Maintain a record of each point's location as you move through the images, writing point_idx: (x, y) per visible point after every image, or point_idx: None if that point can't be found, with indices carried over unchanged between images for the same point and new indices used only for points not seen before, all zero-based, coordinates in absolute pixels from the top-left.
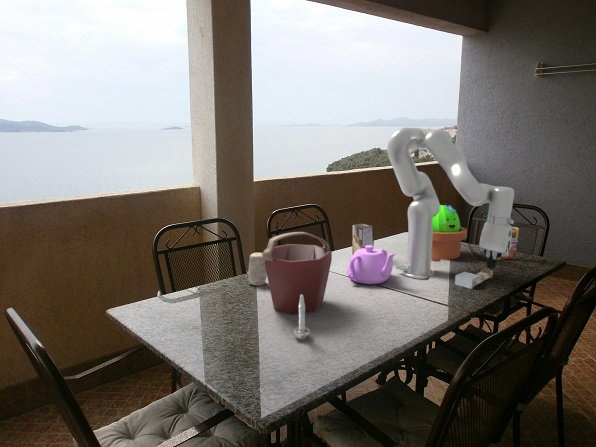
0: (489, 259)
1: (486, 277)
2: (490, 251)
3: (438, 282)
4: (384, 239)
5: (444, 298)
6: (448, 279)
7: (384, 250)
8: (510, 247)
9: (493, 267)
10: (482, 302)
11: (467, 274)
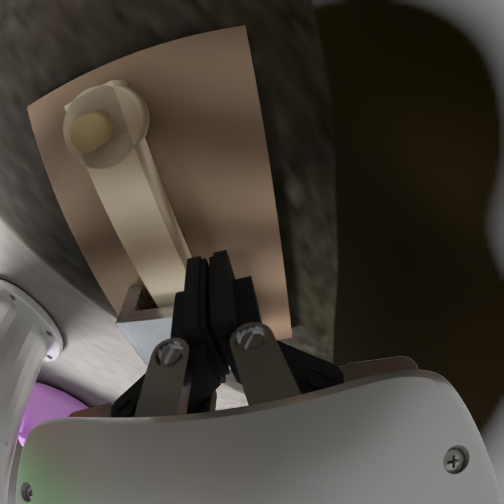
0: (223, 373)
1: (155, 177)
2: (166, 405)
3: (98, 333)
4: None
5: (230, 393)
6: (72, 286)
7: (19, 434)
8: (468, 421)
9: (233, 274)
10: (318, 352)
11: (161, 341)
